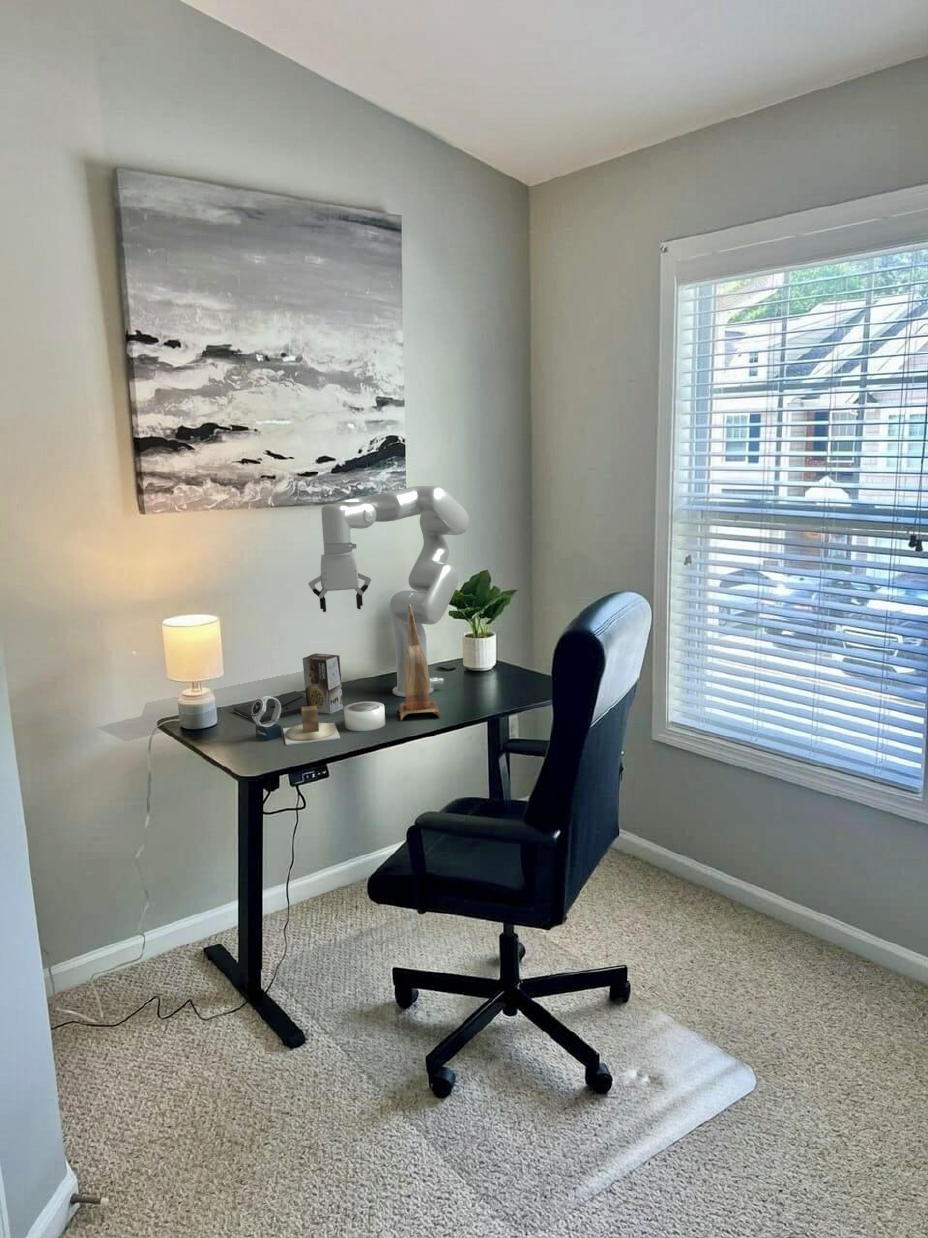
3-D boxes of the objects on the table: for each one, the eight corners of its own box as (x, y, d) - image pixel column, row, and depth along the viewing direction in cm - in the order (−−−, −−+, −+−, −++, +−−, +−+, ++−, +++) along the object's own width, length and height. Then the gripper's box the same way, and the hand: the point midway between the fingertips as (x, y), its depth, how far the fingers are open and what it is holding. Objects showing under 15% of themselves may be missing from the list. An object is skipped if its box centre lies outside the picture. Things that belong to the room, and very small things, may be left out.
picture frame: (296, 699, 275) (234, 714, 262) (295, 691, 275) (233, 705, 262) (322, 709, 264) (259, 725, 251) (322, 700, 263) (258, 716, 250)
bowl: (381, 717, 251) (380, 699, 250) (388, 728, 241) (387, 710, 240) (342, 721, 249) (341, 704, 248) (347, 733, 238) (346, 715, 237)
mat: (334, 724, 247) (334, 722, 247) (340, 739, 233) (340, 737, 233) (283, 729, 243) (282, 728, 243) (286, 745, 230) (285, 744, 230)
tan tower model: (436, 708, 259) (429, 599, 254) (441, 718, 247) (434, 604, 242) (398, 712, 257) (390, 602, 252) (401, 722, 246) (393, 607, 241)
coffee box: (344, 708, 261) (340, 655, 258) (330, 714, 256) (326, 659, 253) (320, 705, 266) (316, 652, 263) (305, 711, 260) (301, 657, 257)
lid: (333, 723, 246) (331, 699, 245) (338, 737, 234) (336, 712, 232) (285, 728, 243) (283, 704, 242) (287, 743, 231) (285, 717, 229)
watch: (250, 738, 237) (246, 698, 235) (275, 731, 242) (272, 692, 240) (261, 743, 233) (257, 702, 231) (287, 735, 238) (284, 695, 236)
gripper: (366, 545, 252) (370, 605, 255) (304, 549, 248) (309, 610, 251) (370, 548, 245) (374, 609, 248) (307, 552, 241) (311, 614, 244)
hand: (341, 610), depth 250 cm, fingers open, 9 cm apart
